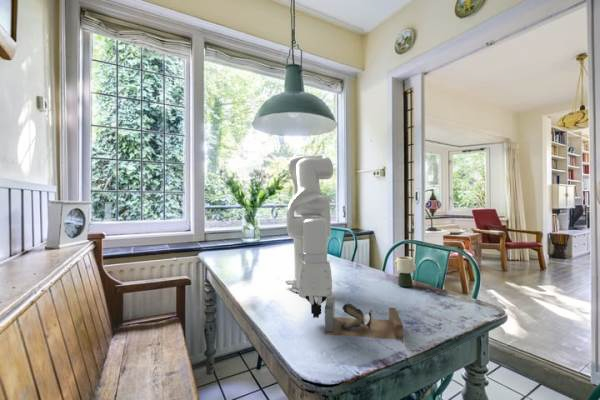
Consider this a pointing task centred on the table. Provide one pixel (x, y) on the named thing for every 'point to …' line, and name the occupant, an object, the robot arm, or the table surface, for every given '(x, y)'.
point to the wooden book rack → (372, 327)
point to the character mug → (405, 270)
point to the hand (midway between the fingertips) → (316, 315)
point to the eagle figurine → (358, 315)
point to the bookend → (330, 315)
